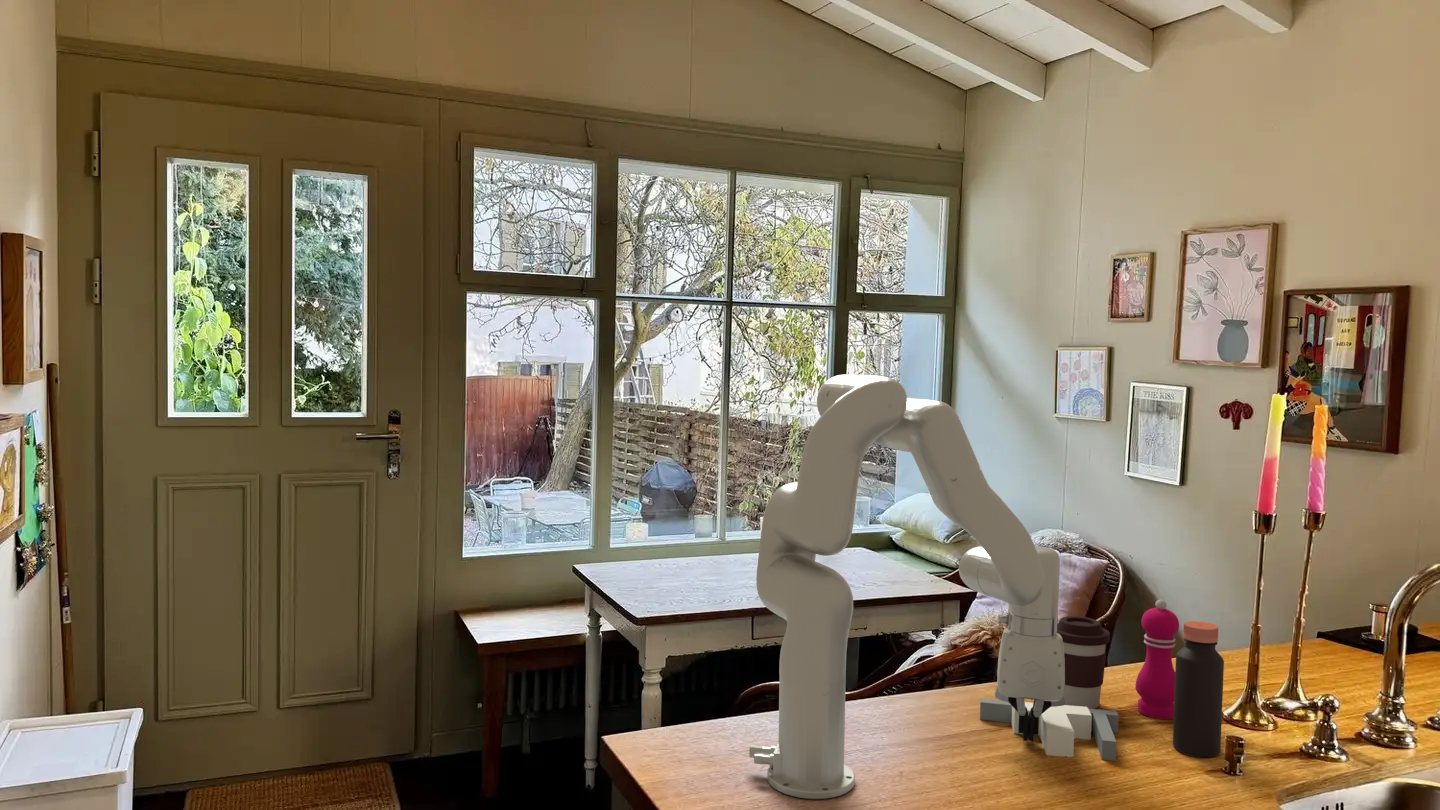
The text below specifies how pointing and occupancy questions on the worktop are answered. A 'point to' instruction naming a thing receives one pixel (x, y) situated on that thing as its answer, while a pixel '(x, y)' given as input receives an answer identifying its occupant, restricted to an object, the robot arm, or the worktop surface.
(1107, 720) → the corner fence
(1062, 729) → the t block
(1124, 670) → the worktop surface
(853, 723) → the worktop surface
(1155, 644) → the pepper mill
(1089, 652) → the coffee cup
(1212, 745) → the bottle
